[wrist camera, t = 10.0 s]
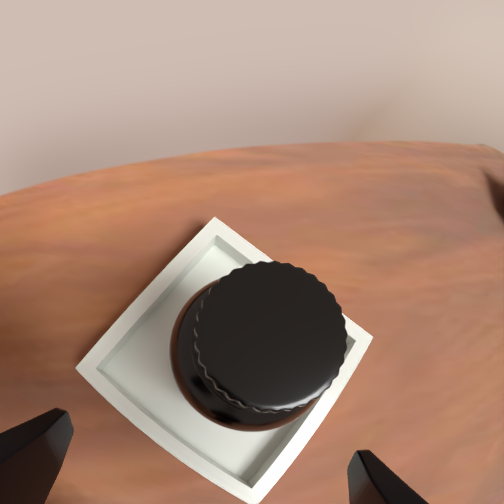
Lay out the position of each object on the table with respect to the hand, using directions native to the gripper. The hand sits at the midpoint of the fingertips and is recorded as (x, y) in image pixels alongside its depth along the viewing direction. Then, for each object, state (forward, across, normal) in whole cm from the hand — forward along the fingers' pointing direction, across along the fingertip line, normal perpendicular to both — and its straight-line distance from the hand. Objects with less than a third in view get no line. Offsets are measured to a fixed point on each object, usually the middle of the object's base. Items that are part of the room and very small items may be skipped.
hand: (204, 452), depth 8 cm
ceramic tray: (+12, 0, +4) cm, 13 cm away
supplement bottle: (+11, 0, +4) cm, 12 cm away
